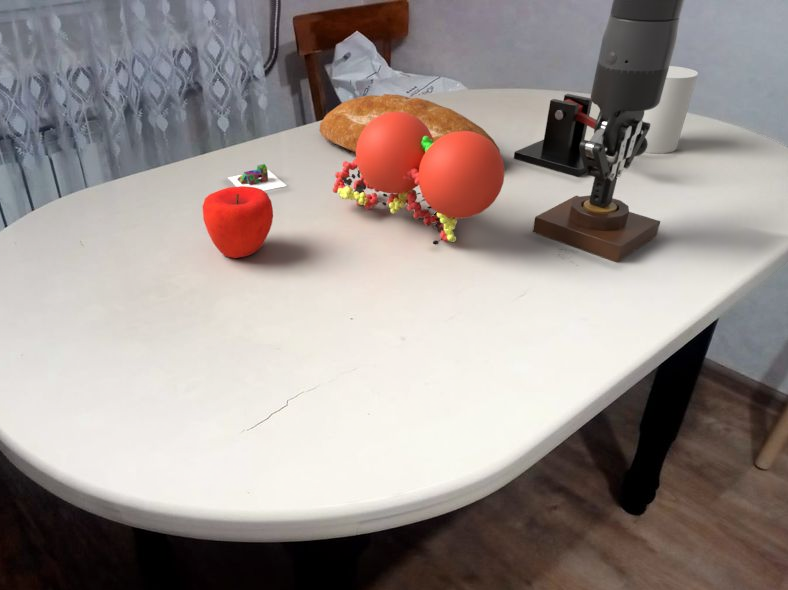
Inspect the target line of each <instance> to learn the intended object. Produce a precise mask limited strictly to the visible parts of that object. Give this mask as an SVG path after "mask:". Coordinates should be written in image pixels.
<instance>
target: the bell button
mask: <svg viewBox="0 0 788 590" xmlns="http://www.w3.org/2000/svg"><path fill="white" fill-rule="evenodd" d="M589 201H590V199H589V200H586V201H585V202H584V205H583V208H585V209H586V210H588V211H591V212H594V213H604V214H607V213H614V212H616V209H617V205H616V204H615V203H613V202H611V204H609V205H608V206H606V207H604V208H600V207H597V206H594V205H591V204H590V202H589Z"/></svg>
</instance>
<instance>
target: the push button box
mask: <svg viewBox="0 0 788 590" xmlns="http://www.w3.org/2000/svg"><path fill="white" fill-rule="evenodd" d="M590 196H591V194H590V195H582V196H579V195H574V196H573V197H570V198H568V199H567V200H565V201H562V202H560V203H558V204H557V205H554V206H553V207H551V208H549V209H547V210H546V211H543V212H542V213H540V214H538V215H536V216H535V217H534V221H533V227H532V233H534V234H537V235H540V236H543V237H545V238H548V239H551V240H554V241H556V242H559V243H562V244H565V245H568V246H571V247H573V248H576V249H578V250H582V251H584V252H586V253H587V252H588V253H589V254H592V255H596V256H599V257H601V258H604V259H607V260H609V261H612V262H615V263H619V262H620V261H622V260H623V259H625V258H626V257H627V256H629V255H631V254H632V253H634V252H635V251H636V250H638V249H639V248H642V246H644V245H646V244H647V243H648V242H650V241H651V240H653V239H654V238H656V237H657V234H658V231H659V228H660V224H661V221H660V220H658V219H655V218H651V217H648V216H645V215H642V214H638V213H635V212H632V211H630V206H629V205H628V204H626V203H625V202H623V201H622V200H620V199H617V198H614V197H612V201H611V202H613V203H615V204H616V205H617V209H616V212H614V213H607V214H604V213H594V212H591V211H588V210H586V209H585V208H583V205H584V202H585V201H586V200H589V199H590Z"/></svg>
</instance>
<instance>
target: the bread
mask: <svg viewBox="0 0 788 590" xmlns="http://www.w3.org/2000/svg"><path fill="white" fill-rule="evenodd" d="M389 112H404V113H408V114H410V115H413V116H415V117H416V118H418V119H419V120H421V121H422V122H423V123H424V124H425V125H426V127H427V128H428V129H429V131H430V133H431V135H432V138H433V141H434V142H435V141H436V140H438V139H439V138H441V137H442V136H444V135H447V134H449V133H452V132H459V131H470V132H475V133H478V134H480V135H482V136H485V137H486V138H487V139H489V140H490V141H492V143H493V144H494V145H495V146H496V147H497V148H498V150H499V152H500V153H501V150H500V148H499V146H498V144H497V143H496V141H495V140H494V139H493V138H492V137H491V136H490V134H489V133H487V131H486V130H485V129H484V128H482V127H481V126H479V125H478V124H476V123H475V122H473V121H472V120H471V119H468V118H467V117H466V116H464V115H463V114H460V113H458V112H457V111H455V110H453V109H452V108H448V107H446V106H442V105H439V104H437V103H435V102H432V101H430V100H427V99H423V98H419V97H413V98H411V97H408V96H404V95H401V94H391V93H389V94H387V93H383V94H382V95H374V94H369V95H362V96H358V97H355V98H351V99H348V100H345V101H343V102H341V103H340V104H339V105H337V106H336V107H334V108H333V109H332V110H330V111H329V112H327V113H326V114H325V116H324V117H323V119H322V120H321V122H320V124H319V128H318V130H319V133H320V134H321V136H322V137H323V138H324V139H326V140H327V141H328V142H330V143H332V144H334V145H337V146H340V147H342V148H344V149H346V150H348V151H350V152H353V153H354V154H356V147H357V142H358V140H359V137H360V135H361V133H362V131H363V130H364V128H365V127H366V126H367V125H368V124H369V122H370V121H372V120H373V119H375V118H376V117H378V116H380V115H383V114H385V113H389Z"/></svg>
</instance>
